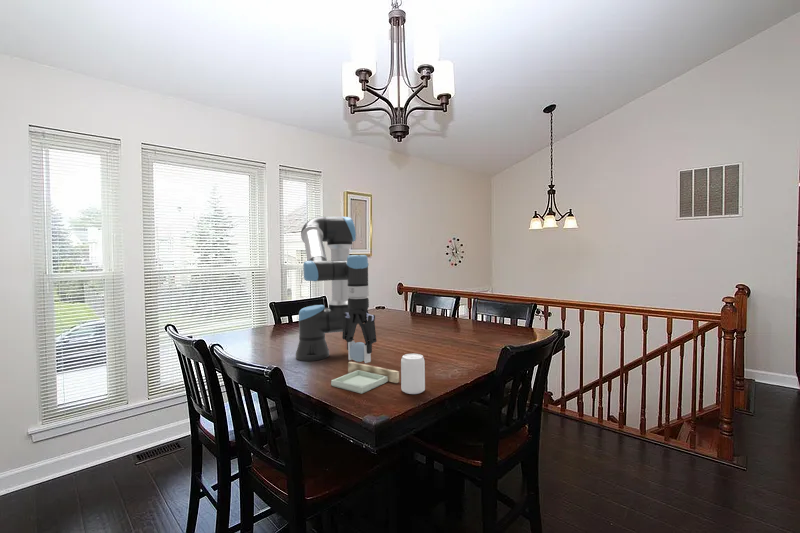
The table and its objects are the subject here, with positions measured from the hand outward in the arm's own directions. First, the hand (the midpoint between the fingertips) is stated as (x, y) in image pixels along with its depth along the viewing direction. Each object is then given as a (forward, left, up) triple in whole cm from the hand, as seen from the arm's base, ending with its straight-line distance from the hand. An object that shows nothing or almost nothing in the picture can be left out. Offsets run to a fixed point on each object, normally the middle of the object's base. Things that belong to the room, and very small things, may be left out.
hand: (359, 360), depth 140 cm
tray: (0, 0, -9) cm, 9 cm away
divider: (-1, +9, -9) cm, 12 cm away
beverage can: (+20, +5, -9) cm, 22 cm away
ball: (0, 0, 0) cm, 0 cm away
